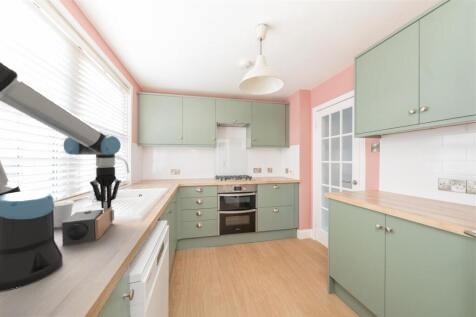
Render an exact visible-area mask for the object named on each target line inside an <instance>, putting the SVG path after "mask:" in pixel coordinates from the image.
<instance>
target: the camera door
mask: <svg viewBox="0 0 476 317" xmlns="http://www.w3.org/2000/svg"><path fill="white" fill-rule="evenodd" d="M113 221H115V209H113V206H111V207H110V208H108V209H107V210H106V211H105V212H104V211H103V213H102V214H101V215H100V216H99V217H98V218H97V219H96V220H95V238H96V240H99V239H100V238H101V237H102V236H103V235H104V233H105V232H106V231H107V230H108V228H109V227H110V226H111V225H112V224H113Z"/></svg>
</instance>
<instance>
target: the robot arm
mask: <svg viewBox="0 0 476 317" xmlns="http://www.w3.org/2000/svg"><path fill="white" fill-rule="evenodd" d="M0 102H2V103H3V104H6V105H7V106H10V107H12V108H13V109H15V110H17V111H19V112H20V113H22V114H24V115H27V116H29V117H31V118H32V119H34V120H35V121H37V122H39V123H41V124H43V125H45V126H47V127H49V128H51V129H52V130H54V131H56V132H58V133H60V134H62V135H64V136H66V138H65V140H64V142H63V150H64V152H66V154H68V155H75V156H77V155H81V156H82V155H86V156H87V155H95V166H96V169H95V172H96V173H95V174H96V176H95V179H93V180H91V181H89V184H90V185H91V187H92V190H93V193H94V196H95V200H96V201H97V202H100V204H101V207H100V208H101V209H103V213H104V212H105V211H106V210H107V209H108V208H110V207H112V201H114V200H116V199H117V194H118V190H119V187H120V185H121V183H122V180H119V179H117V175H116V167H115V165H116V155H115V154H117V153H118V152H119V151H120V149H121V141H120V139H119V138H117V137H116V136H114V135H112V134H104V133H103V132H101V131H99V129H97V128H95V127H94V126H93V125H90V124H89V123H88V122H86V121H84V120H83V119H81V118H80V117H79V116H77V115H75V114H73V113H72V112H70V111H69V110H67V109H66V108H64V107H63V106H61V105H60V104H59V103H57V102H55V101H54V100H52V99H51V98H49V97H47V96H46V95H44V94H43V93H41V92H40V91H38V90H37V89H35V88H34V87H32V86H31V85H29V84H28V83H26V82H24V81H23V80H21V79H20V75H19V73H18V72H16V71H15V70H14V69H12V68H10V67H9V66H8V65H6V64H5V63H3V62H1V61H0ZM113 183H114V186H113ZM98 185H99V186H98ZM112 186H113V190H112ZM99 187H100V189H99ZM54 203H55V202H54V197H53V196H52V195H51V194H50V193H48V192H45V191H21V189H20V187H19V184H17V183H14V182H11V181H9V178H8V176H7V173H6V172H5V169H4V166H3V164H2V162H1V160H0V292H4V291H9V289H10V290H13V289H12V288H14V289H17V288H16V287H18V288H21V287H24V285H25V286H27V285H30V284H32V283H35V282H38V281H39V280H42V279H44V278H46V277H48V276H50V275H51V274H53V273H55V272H56V271H58V270H59V269H60V268H61V267H62V266H63V263H64V262H63V257H64V256H63V254H62V252H61V250H60V248H59V246H58V245H57V243H56V241H55V228H54ZM20 286H21V287H20Z"/></svg>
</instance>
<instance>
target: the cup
mask: <svg viewBox="0 0 476 317" xmlns="http://www.w3.org/2000/svg"><path fill="white" fill-rule="evenodd" d="M53 203H54V229H55V228H56V229H58V228H62V222H64V221H65V220H66V219H68V218H69V217H70V216H72V212H73V208H74V207H73V206H74V203H75V201H73V200H61V201H56V202H53Z"/></svg>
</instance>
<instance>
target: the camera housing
mask: <svg viewBox="0 0 476 317" xmlns="http://www.w3.org/2000/svg"><path fill="white" fill-rule="evenodd" d="M102 213H104V208H101V209H95V210H91V209H87V210H83V211H76V212H75V213H73V214H71V216H70V217H69V218H68V219H66V220H65V221H64V222H62V227H61V233H62V236H61V237H62V240H61V241H62V246H63V247H64V246H71V245H77V244H82V243H90V242H95V241H96V240H97V239H96V238H95V220H96V219H97V218H98V217H99V216H100V215H101V214H102Z"/></svg>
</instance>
